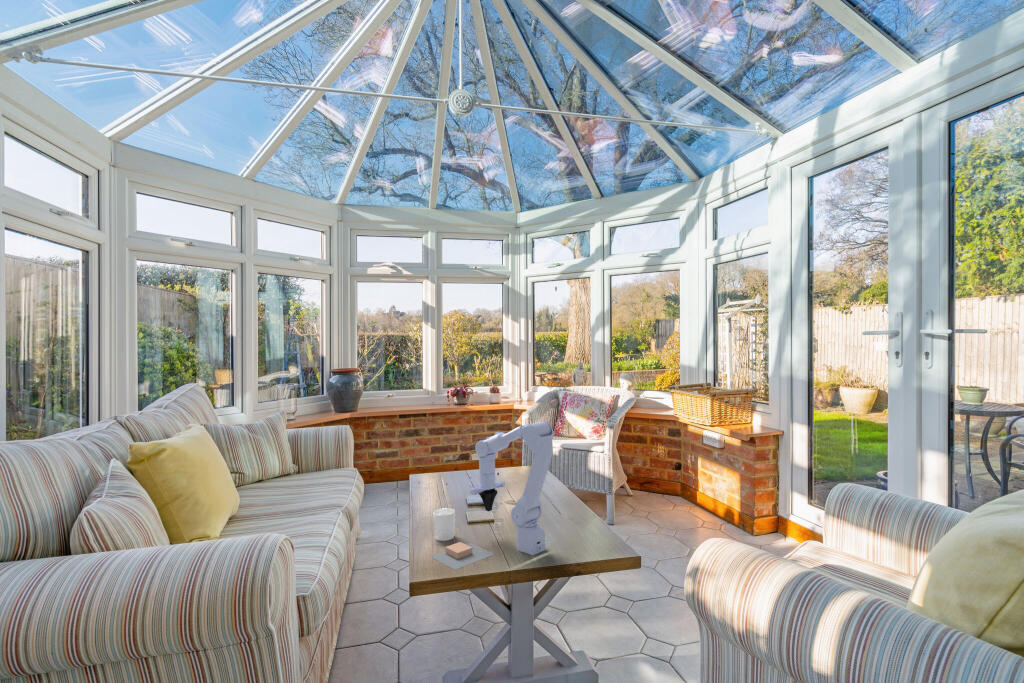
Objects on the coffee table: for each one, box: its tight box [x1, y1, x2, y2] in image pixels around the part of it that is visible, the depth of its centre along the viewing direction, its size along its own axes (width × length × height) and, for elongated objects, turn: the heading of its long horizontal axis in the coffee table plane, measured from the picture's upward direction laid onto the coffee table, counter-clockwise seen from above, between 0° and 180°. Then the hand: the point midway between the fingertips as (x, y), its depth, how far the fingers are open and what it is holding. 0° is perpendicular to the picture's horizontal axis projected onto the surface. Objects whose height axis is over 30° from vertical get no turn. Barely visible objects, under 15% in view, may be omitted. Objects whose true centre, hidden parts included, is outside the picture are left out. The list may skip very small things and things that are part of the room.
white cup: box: [432, 507, 456, 542], centre depth 178 cm, size 8×8×10 cm
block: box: [444, 541, 473, 559], centre depth 163 cm, size 7×2×6 cm
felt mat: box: [430, 542, 495, 571], centre depth 161 cm, size 14×16×1 cm
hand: (488, 510), depth 178 cm, fingers closed
